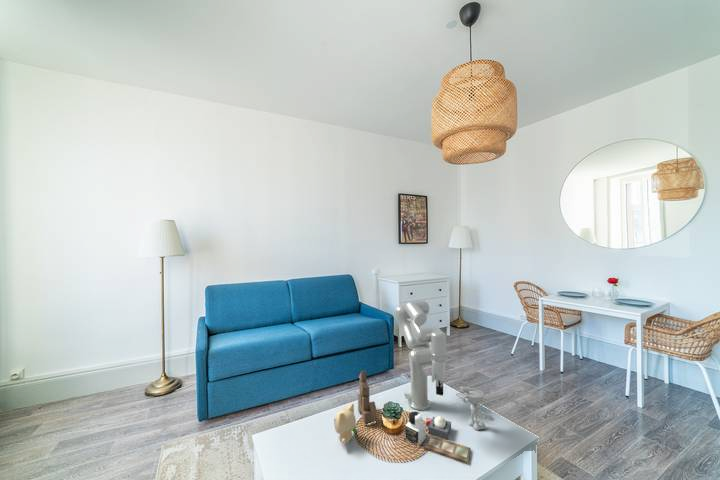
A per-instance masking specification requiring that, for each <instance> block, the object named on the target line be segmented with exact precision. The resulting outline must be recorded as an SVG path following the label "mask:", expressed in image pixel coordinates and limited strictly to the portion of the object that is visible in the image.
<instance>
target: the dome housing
mask: <svg viewBox="0 0 720 480" xmlns="http://www.w3.org/2000/svg"><path fill="white" fill-rule="evenodd" d="M436 417H437V416H436ZM436 417H435V416H432V418H431V419H432V421H431V423H430V425H429V427H428V435H430V434H431V435H432V436H435V437H438V438H441V439H445V440H448V441H449V437H450V433H451V431H452V421H450V420H447V419H445V421H446V428H445V430H444V429H441V428H437V427H434V419H435V418H436Z"/></svg>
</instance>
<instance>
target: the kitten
mask: <svg viewBox="0 0 720 480" xmlns="http://www.w3.org/2000/svg"><path fill="white" fill-rule="evenodd" d="M354 407H355V405H354V403H351V404H350V405H349V406H348V408H342V409H340V410H339V411H338V412H337V414H336V416H335V417H334V420H333V421H334V422H333V423H334V424H333V425H334V430H335V432H336V433H337V435H338V439H339V440H340V441H341V444H342V445H346V444H348V443H349V441H350V440H352V437H353V434H356V433H357V430H356V425H357V423H356V422H357V421H356V415H355V414H354V412H355V410H354V409H355V408H354ZM355 432H356V433H355Z"/></svg>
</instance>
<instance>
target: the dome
mask: <svg viewBox="0 0 720 480" xmlns="http://www.w3.org/2000/svg"><path fill="white" fill-rule="evenodd" d="M445 420H446V419H445V418H444V417H443V416H442V415H441V416H440V415H437V416H436V418H435V419H434V427H437V428H441V429H444V430H445V428H446V421H447V420H446V421H445Z"/></svg>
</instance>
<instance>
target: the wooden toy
mask: <svg viewBox="0 0 720 480" xmlns="http://www.w3.org/2000/svg"><path fill="white" fill-rule="evenodd" d="M359 373H360V374H359V376H358V378H359V389H358V390H359V391H358V393H359V394H358V395H357V399H358V400H357V411H358V414H359V415H361V416H362V422H363V421H364V422H363V424H364V423H365V424H368V423H371V422H374V421H376V422H377V407H376V403H375V401H370V386H369V385H368V382H367V371H366V370H362V371H360V372H359Z"/></svg>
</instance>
